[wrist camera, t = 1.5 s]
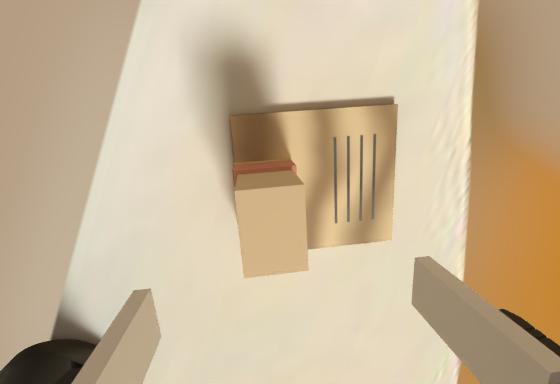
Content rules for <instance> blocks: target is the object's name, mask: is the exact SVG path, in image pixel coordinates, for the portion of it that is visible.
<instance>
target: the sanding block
mask: <svg viewBox="0 0 560 384" xmlns="http://www.w3.org/2000/svg"><path fill="white" fill-rule="evenodd" d="M233 177H234V186H235V189H234V194H235V202H236V211H237V220H238V228H239V237H240V246H241V254H242V263H243V272H244V278H249V277H258V276H266V275H274V274H283V273H291V272H299V271H308V248H307V226H306V204H305V184H304V183H303V182H302V181H301V180H300V178H299V177H298V176H297V167H296V165H295V163H294V162H293V161H292V159H291V158H290V159H278V160H266V161H254V162H242V163H234V168H233Z"/></svg>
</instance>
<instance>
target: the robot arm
mask: <svg viewBox="0 0 560 384" xmlns="http://www.w3.org/2000/svg"><path fill="white" fill-rule="evenodd" d="M412 305H413V306H414V307H415V308H416V309H417V311H418V312H419V313H420V314H421V315H422V316H423V318H424V319H425V320H426V321H427V322H428V323H429V324H430V326H431V327H432V328H433V329H434V330H435V331H436V332H437V334H438V335H439V336H440V337H441V338H442V339H443V341H444V342H445V343H446V344H447V345H448V346H449V347H450V349H451V350H452V351H453V352H454V353H455V354H456V355H457V357H458V358H459V359H460V360H461V361H462V362H463V364H464V365H465V366H466V367H467V368H468V369H469V370H470V372H472V374H473V375H474V376H475V377H476V378H477V380H478V381H479V382H480V383H481V384H560V346H559V345H558V344H556V343H555V342H554V341H552V340H551V339H549V338H547V337H546V336H545V335H544V334H542V333H541V332H540V331H538V330H535V328H534V327H533V326H531V325H530V324H529V323H528V322H526V321H525V320H524V319H522V318H521V317H519V316H517V315H515V314H513V313H511V312H509V311H507V310H505V309H500V310H498V309H497V308H495V307H494V306H493V305H491V304H490V303H489V302H488V301H486V300H485V299H484V298H482V297H481V296H480V295H479V294H477V293H476V292H475V291H473V290H472V289H471V288H470V287H468V286H467V285H466V284H464V283H463V282H462V281H460V280H459V279H458V278H457V277H455V276H454V275H453V274H451V273H450V272H449V271H448V270H446V269H445V268H444V267H442V266H441V265H440V264H438V263H437V262H436V261H435V260H433V259H432V258H431V257H429V256H427V257H418V258H415V264H414V277H413V291H412ZM160 338H161V333H160V329H159V324H158V320H157V315H156V310H155V306H154V301H153V297H152V292H151V289H143V290H134V291H133V293H132V294H131V296H130V297H129V299H128V300H127V302H126V303H125V305H124V306H123V308H122V309H121V311H120V312H119V313H118V315H117V316H116V318H115V319H114V321H113V322H112V324H111V325H110V327H109V328H108V330H107V331H106V333H105V334H104V336H103V337H102V339H101V340H100V342H99V343H98V345H97V346H95V345H92V344H89V343H85V342H80V341H74V340H52V341H47V342H42V343H38V344H35V345H33V346H31V347H28V348H26V349H24V350H23V351H21V352H20V353H19V354H17V355H16V356H15V357H14V358H13V359H12V360H11V361H10V362H9V363H8V364H7V365H6V366H5V367H4V368H3V369H2V370H1V371H0V384H142V383H143V380H144V378H145V375H146V373H147V370H148V368H149V365H150V363H151V360H152V358H153V356H154V353H155V351H156V348H157V346H158V343H159V341H160Z"/></svg>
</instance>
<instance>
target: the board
mask: <svg viewBox="0 0 560 384" xmlns="http://www.w3.org/2000/svg"><path fill="white" fill-rule="evenodd" d="M397 111H398V104H391V105H376V106H362V107H347V108H333V109H318V110H304V111H289V112H275V113H260V114H246V115H231V116H230V125H231V134H232V143H233V151H234V160H235V163H242V162H254V161H266V160H278V159H290V158H291V159H292V161H293V162H294V163H295V165H296V167H297V176H298V177H299V178H300V180H301V181H302V182H303V183H304V184H305V204H306V226H307V248H308V249H316V248H325V247H334V246H343V245H352V244H361V243H370V242H378V241H387V240H392V225H393V202H394V179H395V156H396V134H397Z"/></svg>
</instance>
